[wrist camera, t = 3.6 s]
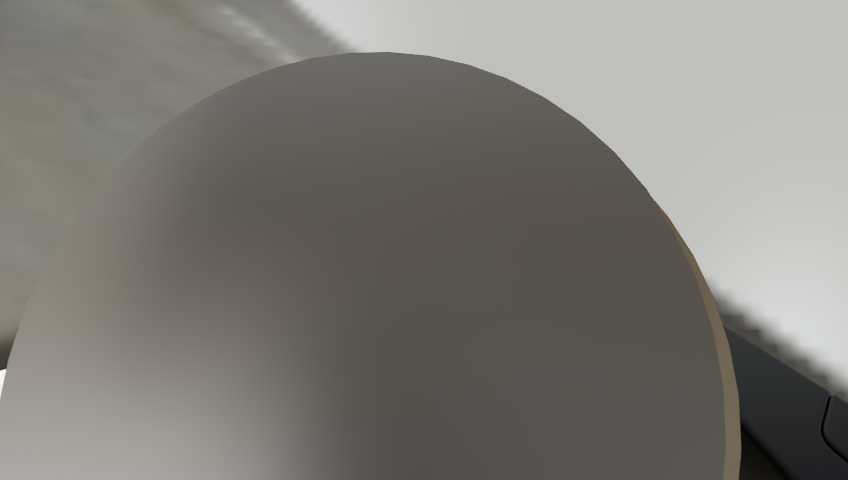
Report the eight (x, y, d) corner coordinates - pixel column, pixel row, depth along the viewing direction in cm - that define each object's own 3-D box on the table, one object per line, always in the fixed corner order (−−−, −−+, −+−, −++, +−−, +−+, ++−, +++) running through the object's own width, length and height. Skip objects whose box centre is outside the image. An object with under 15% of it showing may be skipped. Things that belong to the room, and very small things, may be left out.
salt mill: (601, 472, 14) (1082, 918, 2) (426, 509, 15) (-119, 1044, 2) (549, 297, 16) (618, -95, 3) (393, 337, 16) (-34, 120, 4)
